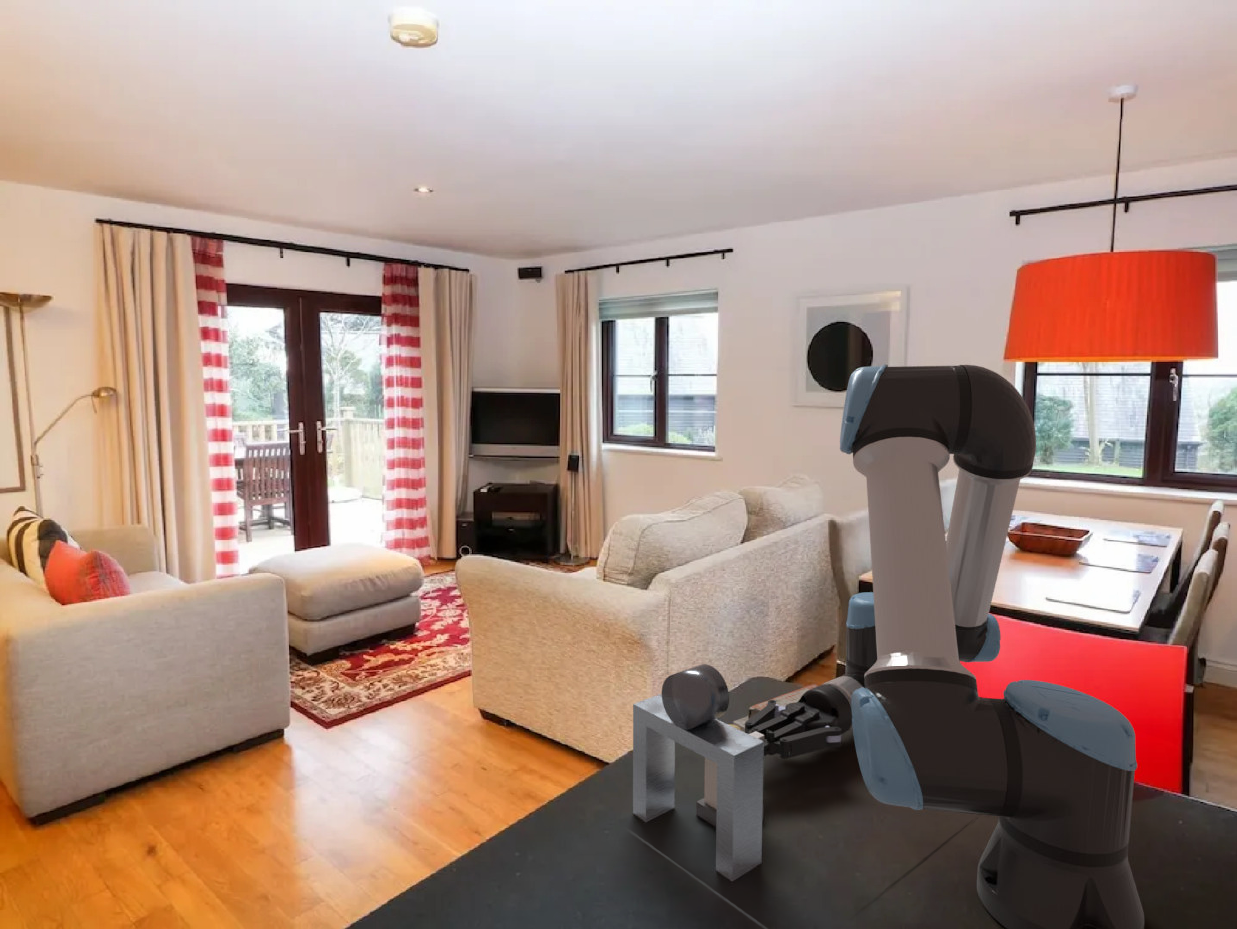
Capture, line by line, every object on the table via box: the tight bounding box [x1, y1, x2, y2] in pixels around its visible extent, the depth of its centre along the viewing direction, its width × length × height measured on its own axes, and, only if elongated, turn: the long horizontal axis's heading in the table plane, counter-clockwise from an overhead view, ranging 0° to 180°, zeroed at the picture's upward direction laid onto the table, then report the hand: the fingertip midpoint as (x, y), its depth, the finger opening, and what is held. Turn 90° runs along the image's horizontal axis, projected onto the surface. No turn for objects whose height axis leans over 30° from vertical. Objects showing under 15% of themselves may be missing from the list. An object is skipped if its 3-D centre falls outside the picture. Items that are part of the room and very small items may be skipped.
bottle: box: [695, 723, 765, 828], centre depth 93 cm, size 6×6×12 cm
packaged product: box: [732, 683, 819, 732], centre depth 120 cm, size 18×5×10 cm
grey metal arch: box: [632, 663, 765, 882], centre depth 89 cm, size 17×5×21 cm, turn 39°
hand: (727, 757), depth 97 cm, fingers closed
